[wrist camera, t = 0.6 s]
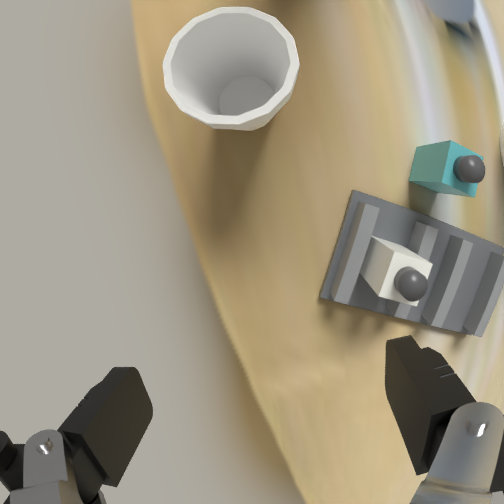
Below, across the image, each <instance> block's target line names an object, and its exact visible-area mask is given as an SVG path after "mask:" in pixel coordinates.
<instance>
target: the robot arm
mask: <svg viewBox="0 0 504 504" xmlns="http://www.w3.org/2000/svg"><path fill="white" fill-rule="evenodd" d="M385 389H386V395H387V399H388V401H389V404H390V406H391V409H392V411H393V414H394V416H395V419H396V421H397V424H398V427H399V429H400V432H401V434H402V437H403V440H404V442H405V445H406V448H407V450H408V453H409V456H410V458H411V461H412V464H413V467H414V470H415V472H416V475H420V474H424V473H427V472H428V474H427V476H426V478H425V480H424V481H422V482H421V484H420V485H419V487H418V489H417V491H416V493H415V495H414V497H413V498H412V500H411V502H410V504H490V502H491V498H492V492H497V491H503V493H504V415H503V414H502V412H501V411H500V410H499V409H498V408H497V407H495V406H494V405H491V404H489V403H484V402H476V400H475V399H474V398H473V396H472V395H471V393H470V392H469V391H468V389H467V388H466V387H465V385H464V384H463V382H462V381H461V380H460V378H459V377H458V376H457V374H455V373H454V370H453V369H452V368H451V366H449V365H448V363H447V361H446V360H445V359H444V357H443V356H442V355H441V354H440V353H438V352H436V351H435V350H433V349H431V348H429V347H427V348H423V349H421V348H420V347H419V346H418V344H417V343H416V341H415V340H414V339H413V337H412V336H411V335H409V336H404V337H400V338H395V339H391V340H387V342H386V364H385ZM152 415H153V407H152V403H151V401H150V398H149V396H148V393H147V391H146V389H145V386H144V384H143V381H142V379H141V376H140V374H139V372H138V370H137V369H136V368H135V367H114V368H112V370H111V371H110V372H109V373H108V374H107V376H106V377H105V378H104V379H103V381H101V382H100V383H98V384H97V385H96V386H94V387H93V388H91V389H90V391H89V392H88V393H87V394H86V396H85V397H84V399H82V401H81V402H80V403H79V404H78V407H76V408H75V409H74V410H73V411H72V413H71V414H70V415H69V416H68V418H67V419H66V420H65V421H64V423H63V424H62V425H61V426H60V427H59V429H58V430H57V431H56V430H43V431H40V432H38V433H36V434H34V435H33V436H31V437H30V438H29V439H28V441H27V442H26V444H13V443H12V442H11V440H10V438H9V437H8V435H7V434H6V433H5V432H3V431H0V481H1V482H2V484H3V485H4V486H5V487H6V488H7V489H8V491H9V492H10V495H9V496H8V498H7V499H6V501H5V502H4V504H106V501H105V498H104V495H103V493H102V491H101V490H100V487H101V485H102V484H104V485H109V486H113V487H117V486H118V484H119V482H120V480H121V478H122V476H123V474H124V472H125V470H126V468H127V466H128V464H129V462H130V460H131V458H132V457H133V455H134V453H135V451H136V449H137V447H138V445H139V443H140V441H141V439H142V437H143V435H144V433H145V431H146V429H147V427H148V425H149V423H150V421H151V419H152Z"/></svg>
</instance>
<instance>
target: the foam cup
mask: <svg viewBox="0 0 504 504" xmlns="http://www.w3.org/2000/svg"><path fill="white" fill-rule="evenodd" d="M299 65H300V63H299V58H298V54H297V49H296V44H295V40H294V37H293V36H292V35H291V34H290V33H289V32H288V30H287V29H286V28H285V27H284V26H283V25H282V24H281V23H280V22H279V21H278V19H277V18H276V17H273V16H271V15H268V14H266V13H264V12H261V11H259V10H256V9H254V8H251V7H219V8H217V9H214V10H212V11H209V12H207V13H204V14H202V15H199V16H197V17H195V18H193V19H191V20H190V21H189V22H188V23H187V24H186V25H185V26H184V27H183V28H182V29H181V30H180V31H179V32H178V33H177V34H176V35H175V36H174V37H173V38H172V40H171V43H170V45H169V48H168V50H167V53H166V55H165V58H164V60H163V72H164V81H165V89H166V90H167V92H168V93H169V95H170V96H171V97H172V99H173V100H174V101H175V103H176V104H177V106H178V107H179V108H180V110H181V111H182V112H184V113H185V114H187V115H188V116H190V117H192V118H194V119H196V120H198V121H200V122H202V123H204V124H206V125H208V126H210V127H212V128H214V129H234V130H245V131H253V130H256V129H258V128H261V127H264V126H265V125H266V124H267V123H268V122H269V121H270V120H271V119H272V118H273V117H274V116H275V115H276V113H277V112H278V111H279V110H280V109H281V108H282V107H283V106H284V105H285V104H286V103H287V102H288V101H289V100H290V98H291V95H292V92H293V89H294V85H295V82H296V79H297V76H298V72H299Z"/></svg>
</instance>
